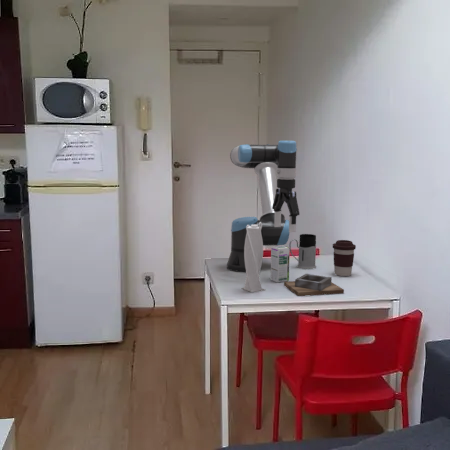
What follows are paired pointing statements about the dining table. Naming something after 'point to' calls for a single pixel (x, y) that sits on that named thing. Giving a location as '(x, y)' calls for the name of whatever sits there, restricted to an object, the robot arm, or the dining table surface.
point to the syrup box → (280, 263)
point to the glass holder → (306, 251)
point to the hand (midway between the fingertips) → (284, 229)
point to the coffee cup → (343, 257)
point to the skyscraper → (253, 258)
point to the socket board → (313, 292)
